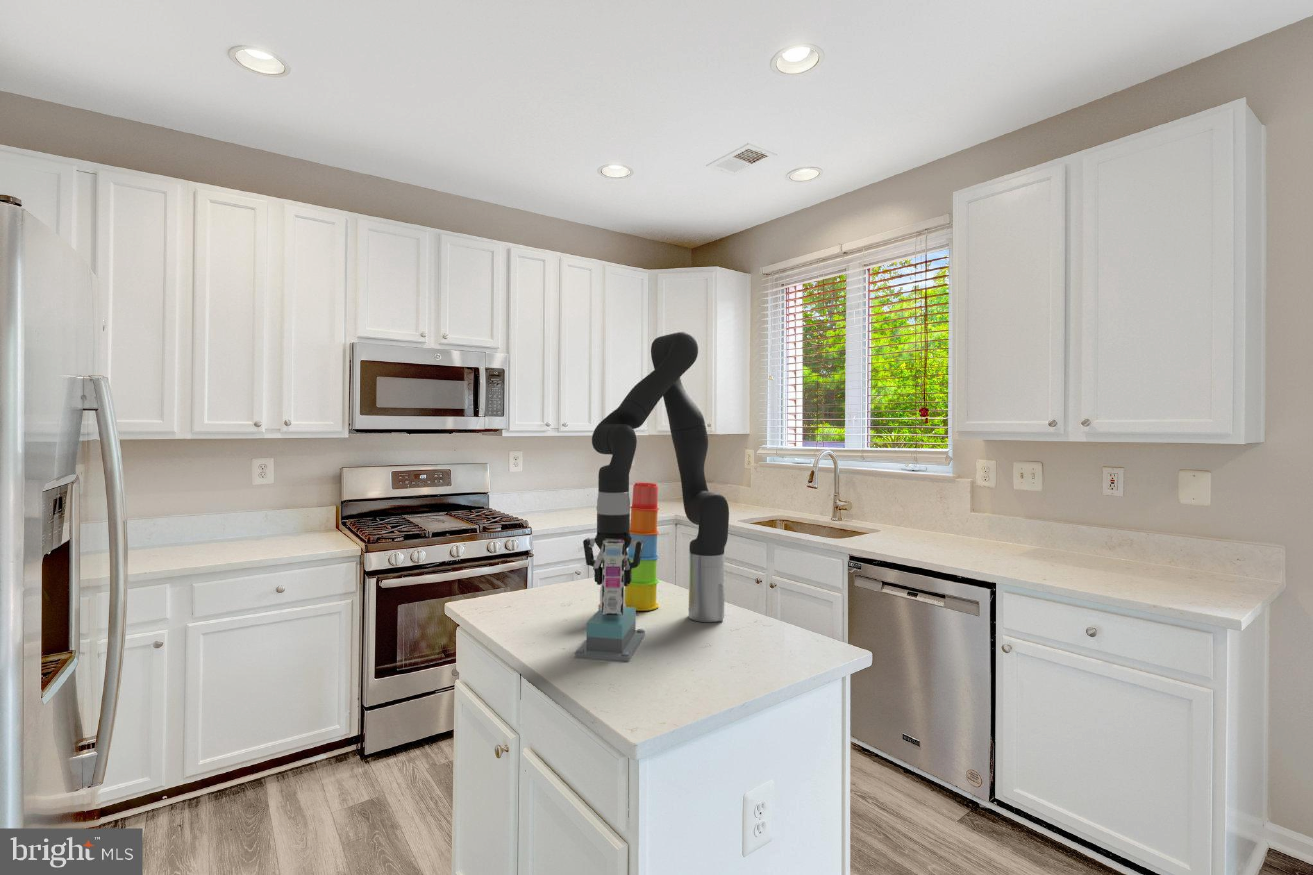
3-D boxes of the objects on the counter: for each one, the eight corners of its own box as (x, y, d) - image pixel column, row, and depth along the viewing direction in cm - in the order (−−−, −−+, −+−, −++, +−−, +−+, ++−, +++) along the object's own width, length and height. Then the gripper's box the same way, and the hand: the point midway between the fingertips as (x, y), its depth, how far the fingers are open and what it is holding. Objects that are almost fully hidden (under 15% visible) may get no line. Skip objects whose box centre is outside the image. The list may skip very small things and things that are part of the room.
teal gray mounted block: (645, 634, 151) (645, 605, 151) (628, 661, 133) (629, 628, 133) (597, 631, 153) (597, 602, 153) (574, 657, 136) (575, 625, 136)
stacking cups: (620, 602, 179) (622, 481, 179) (656, 601, 181) (657, 481, 180) (622, 612, 169) (624, 484, 169) (660, 611, 170) (662, 484, 170)
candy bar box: (624, 615, 138) (625, 541, 138) (601, 616, 138) (602, 541, 137) (623, 601, 149) (623, 533, 149) (601, 602, 149) (602, 533, 148)
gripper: (647, 510, 145) (646, 582, 146) (587, 508, 148) (587, 579, 148) (641, 514, 138) (640, 590, 138) (578, 512, 141) (577, 587, 141)
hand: (612, 584), depth 143 cm, fingers closed on candy bar box, 5 cm apart
